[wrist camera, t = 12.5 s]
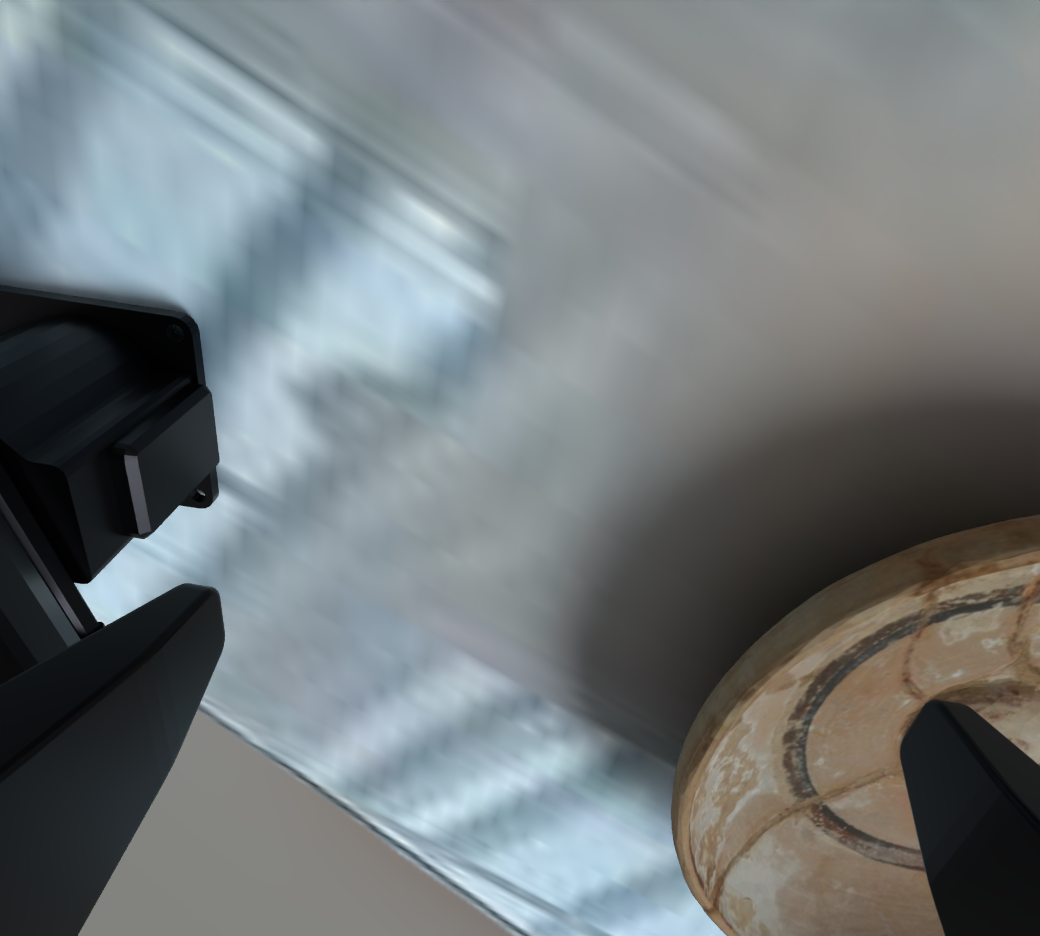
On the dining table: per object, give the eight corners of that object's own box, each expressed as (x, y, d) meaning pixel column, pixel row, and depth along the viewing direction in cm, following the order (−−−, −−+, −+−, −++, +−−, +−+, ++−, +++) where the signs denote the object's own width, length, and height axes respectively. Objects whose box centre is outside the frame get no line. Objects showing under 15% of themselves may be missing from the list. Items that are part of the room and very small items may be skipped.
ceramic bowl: (1543, 385, 18) (1853, 488, 13) (1233, 894, 29) (1346, 1038, 25) (635, 476, 21) (648, 580, 17) (677, 896, 33) (691, 1022, 28)
